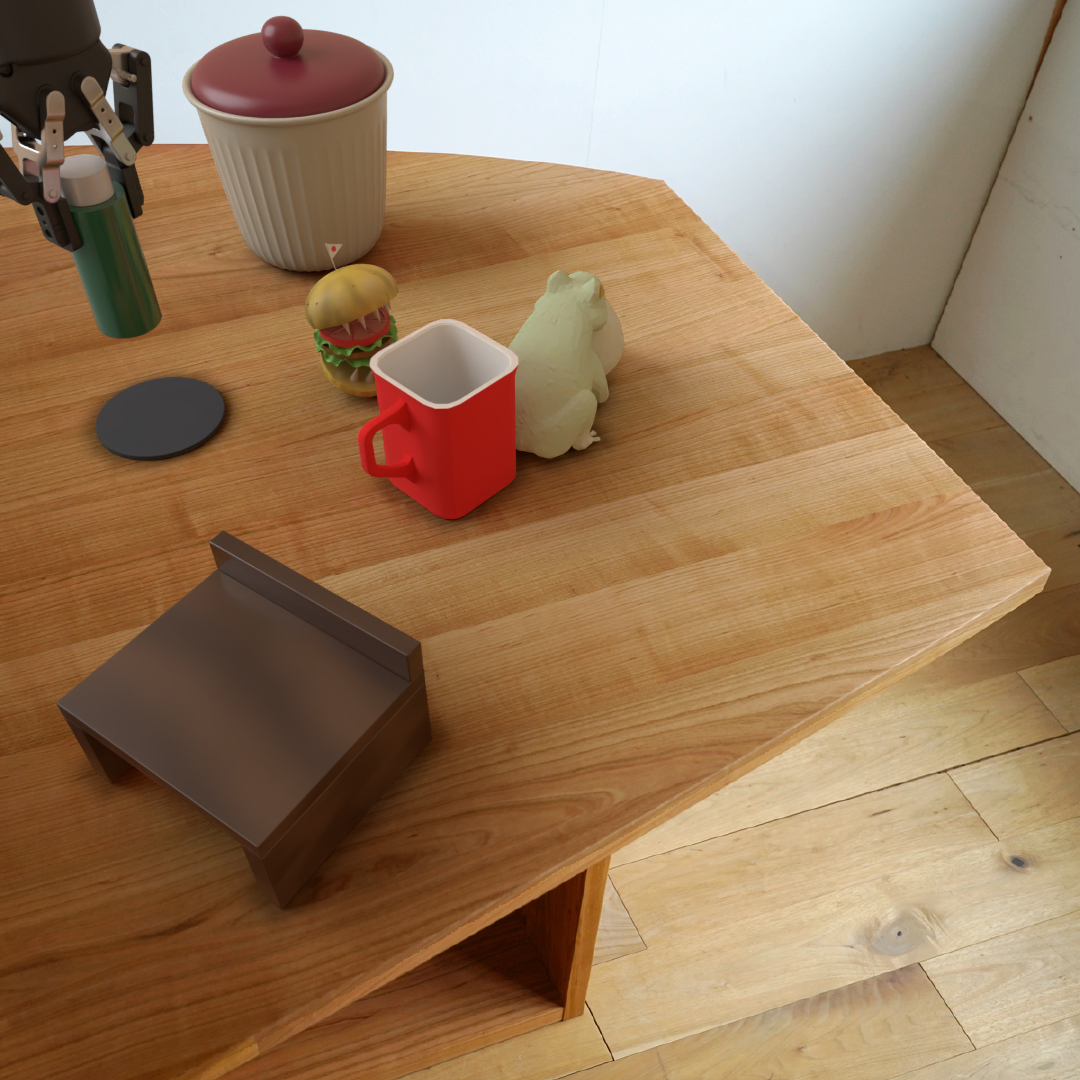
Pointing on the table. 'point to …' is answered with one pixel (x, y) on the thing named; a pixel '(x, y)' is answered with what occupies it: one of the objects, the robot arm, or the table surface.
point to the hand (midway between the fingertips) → (99, 229)
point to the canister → (298, 140)
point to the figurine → (564, 364)
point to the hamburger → (352, 322)
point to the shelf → (261, 711)
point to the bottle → (108, 250)
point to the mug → (444, 417)
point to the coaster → (160, 418)
